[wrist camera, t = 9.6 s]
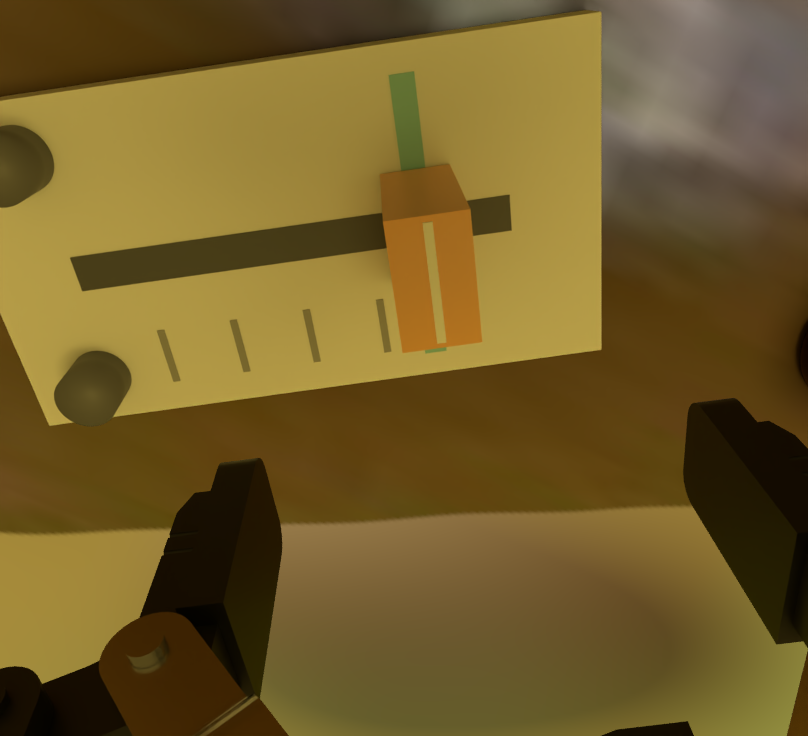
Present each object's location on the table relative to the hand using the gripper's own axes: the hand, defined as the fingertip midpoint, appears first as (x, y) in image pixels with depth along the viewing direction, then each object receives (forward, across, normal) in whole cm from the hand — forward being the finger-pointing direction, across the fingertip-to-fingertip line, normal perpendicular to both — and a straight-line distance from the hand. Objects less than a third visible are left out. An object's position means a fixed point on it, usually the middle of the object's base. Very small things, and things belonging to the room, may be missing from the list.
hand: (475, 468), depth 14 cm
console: (+18, +5, 0) cm, 19 cm away
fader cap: (+16, 0, 0) cm, 16 cm away
